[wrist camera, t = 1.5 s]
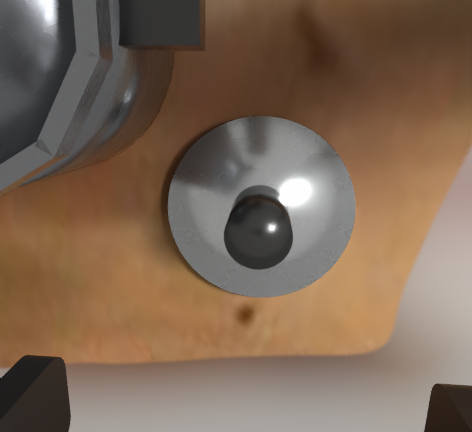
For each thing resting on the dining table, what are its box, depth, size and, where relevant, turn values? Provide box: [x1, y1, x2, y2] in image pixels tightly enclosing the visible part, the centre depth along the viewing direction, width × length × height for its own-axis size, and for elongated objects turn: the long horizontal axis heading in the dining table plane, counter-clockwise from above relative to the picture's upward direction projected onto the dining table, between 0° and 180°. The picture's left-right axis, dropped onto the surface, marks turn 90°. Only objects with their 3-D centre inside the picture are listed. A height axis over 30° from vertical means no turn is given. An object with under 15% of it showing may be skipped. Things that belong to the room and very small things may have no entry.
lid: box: [168, 116, 355, 297], centre depth 23 cm, size 12×12×6 cm
